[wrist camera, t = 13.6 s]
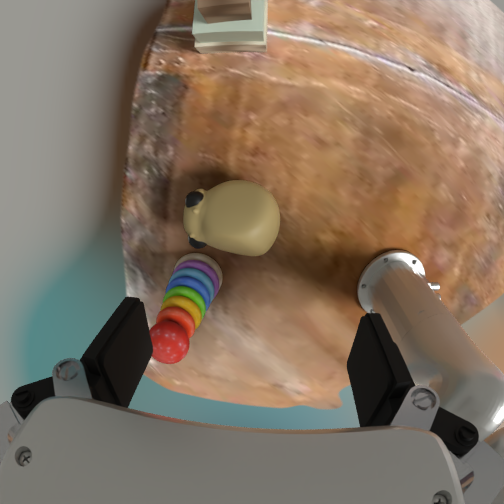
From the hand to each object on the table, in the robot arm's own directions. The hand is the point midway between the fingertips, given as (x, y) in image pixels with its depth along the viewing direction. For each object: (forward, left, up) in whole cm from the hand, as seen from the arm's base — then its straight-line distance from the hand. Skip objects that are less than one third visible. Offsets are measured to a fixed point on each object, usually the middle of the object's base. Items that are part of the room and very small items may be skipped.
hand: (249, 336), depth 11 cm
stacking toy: (+10, +14, -31) cm, 35 cm away
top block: (+5, -24, -27) cm, 36 cm away
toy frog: (+4, +3, -31) cm, 31 cm away
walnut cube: (+5, -24, -23) cm, 33 cm away
